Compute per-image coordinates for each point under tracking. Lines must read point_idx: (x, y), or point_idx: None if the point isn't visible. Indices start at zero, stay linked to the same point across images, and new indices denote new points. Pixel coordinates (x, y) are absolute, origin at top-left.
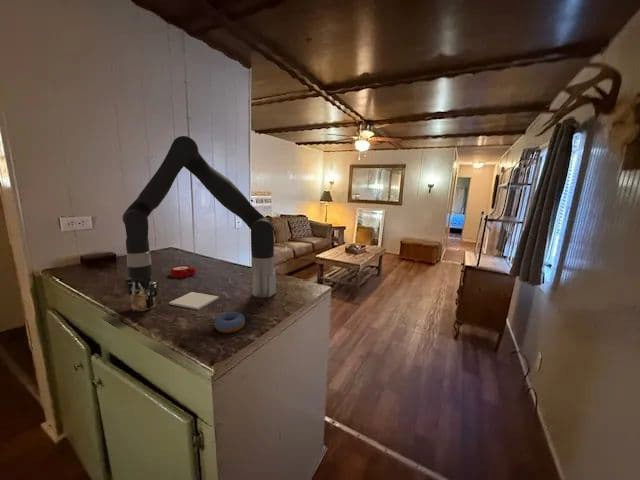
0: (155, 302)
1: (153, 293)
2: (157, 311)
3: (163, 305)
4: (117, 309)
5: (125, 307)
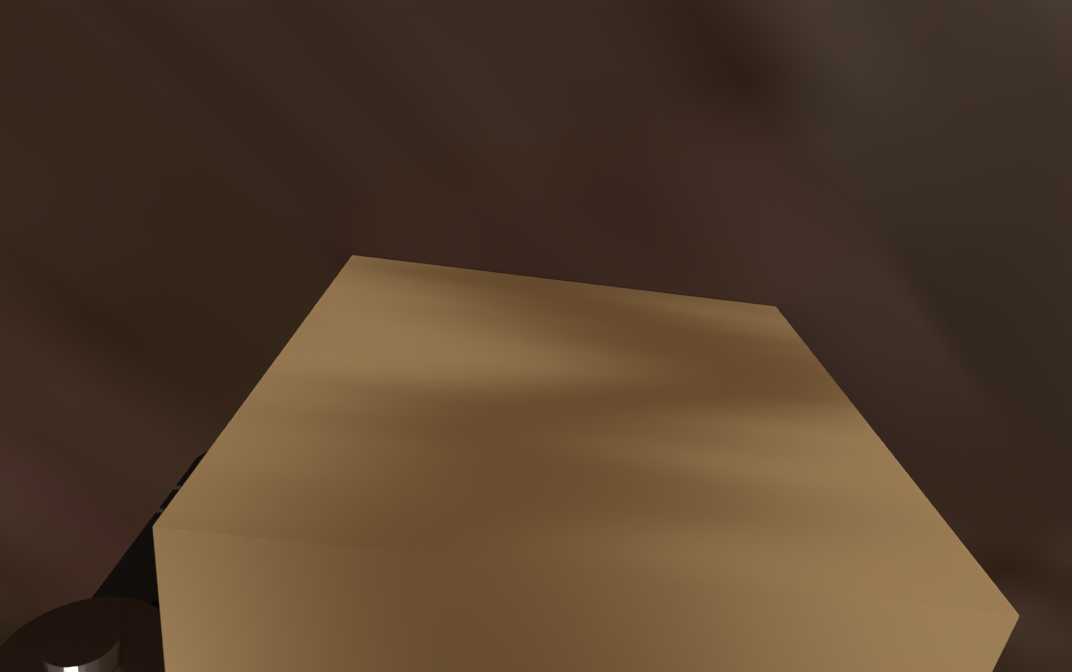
0: (814, 357)
1: (987, 670)
2: (1003, 533)
3: (964, 197)
4: (9, 635)
5: (59, 525)
